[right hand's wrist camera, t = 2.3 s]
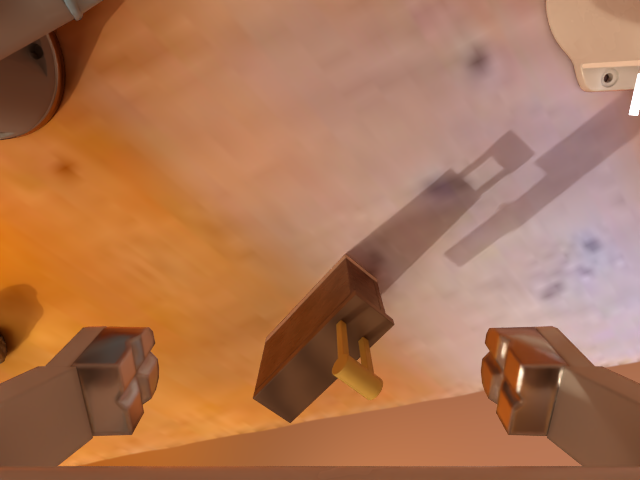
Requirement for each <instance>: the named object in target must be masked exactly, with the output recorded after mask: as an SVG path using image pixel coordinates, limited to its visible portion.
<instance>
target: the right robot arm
mask: <svg viewBox="0 0 640 480" xmlns="http://www.w3.org/2000/svg"><path fill="white" fill-rule="evenodd" d="M546 12H547V18H548V23H549V26H550V29H551V31H552V34H553V36H554V38H555V40H556V41H557V43H558V44H559V46H560V47H561V48H562V50H563V51H564V52H565V53H566V54H567V55H568V57H569V58H570V59H571V61H572V63H573V65H574V70H575V74H576V78H577V81H578V84H579V86H580V87H581V89H582V90H584V91H586V92H602V91H620V90H634V94H633V98H632V103H631V107H630V112H629V115H638V112H639V108H640V0H546ZM606 74H608V80H607V81H606V82H605V81H604V77H605V75H606ZM154 344H155V340H154V335H153V331H152V330H151V329H150V328H149V327H106V326H95V327H85V328H82V329H81V330H80V332H79V333H78V334H77V335H76V336H75V337H74V338H73V339H72V340H71V341H70V342H69V343H68V344H67V345H66V346H65V347H64V348H63V349H62V350H61V351H60V352H59V353H58V354H57V355H56V356H55V357H54V358H53V359H52V360H51V361H50V362H49V363H48V364H47V365H46V366H43V367H36V368H34V369H31V370H29V371H27V372H25V373H23V374H20V375H18V376H16V377H14V378H12V379H9V380H7V381H5V382H3V383H1V384H0V480H640V384H639V383H637V382H635V381H633V380H630V379H628V378H626V377H624V376H622V375H620V374H617V373H615V372H613V371H611V370H609V369H606V368H604V367H597V366H594V365H593V364H592V363H591V362H590V361H589V360H588V359H587V358H586V357H585V356H584V355H583V354H582V353H581V352H580V351H579V350H578V349H577V348H576V347H575V346H574V345H573V344H572V343H571V342H570V341H569V339H568V338H567V337H566V336H565V335H564V334H563V333H562V332H561V331H560V330H559V329H558V328H555V327H553V326H543V327H512V328H489V330H488V332H487V334H486V340H485V344H486V346H487V347H488V349H489V351H490V352H489V353H488V354H487V355H486V356H485V357H484V358H483V359H482V366H481V377H482V384H483V387H484V390H485V392H486V394H487V396H488V398H489V399H490V400H491V401H493V402H495V403H496V404H497V411H496V413H497V415H498V417H499V419H500V421H501V422H502V424H503V426H504V428H505V430H506V432H507V433H508V435H532V436H547V438H548V439H549V440H551V441H552V442H553V443H554V444H556V445H557V446H558V447H559V448H561V449H562V450H563V451H564V452H566V453H567V454H568V455H569V456H571V457H572V458H573V459H574V460H576V461H577V462H578V463H580V464H581V465H582V466H58V465H59V464H61V463H62V462H63V461H64V460H66V459H67V458H68V457H69V456H71V455H72V454H73V453H74V452H76V451H77V450H78V449H79V448H81V447H82V446H83V445H85V444H86V443H87V442H88V441H90V440H91V439H92V438H93V436H108V435H132V433H133V432H134V430H135V428H136V426H137V424H138V422H139V421H140V419H141V417H142V415H143V413H144V410H143V404H144V403H146V402H147V401H149V400H150V399H151V398H152V396H153V394H154V392H155V390H156V387H157V383H158V379H159V365H158V359H157V358H156V357H155V356H154V355H153V354H152V353H151V352H150V351H151V349H152V347H153V346H154Z"/></svg>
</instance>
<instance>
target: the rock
mask: <svg viewBox="0 0 640 480" xmlns="http://www.w3.org/2000/svg"><path fill="white" fill-rule="evenodd" d="M6 348H7V347H6V342H5V340H4V338H3V337H2V336H1V335H0V363H2V362H3V361H4V360H5V358H6V355H7V349H6Z"/></svg>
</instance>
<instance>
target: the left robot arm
mask: <svg viewBox="0 0 640 480" xmlns="http://www.w3.org/2000/svg"><path fill="white" fill-rule="evenodd" d="M101 1H103V0H0V140H4V139H11V138H17V137H21V136H25V135H28V134H31V133H33V132H35V131H37V130H38V129H40V128H41V127H43V126H44V125H45V124H46V123H47V122H48V121H49V120H50V119H51V118H52V117H53V115H54V114H55V112H56V110H57V109H58V107H59V104H60V102H61V99H62V96H63V92H64V86H65V67H64V60H63V55H62V51H61V48H60V45H59V42H58V40H57V37H56V35H55V33H54V30H55V29H57V28H59V27H61V26H63V25H64V24H66V23H68V22H70V21H71V20H73V19H75V20H76V21H78V20H80V19H82V17H83V13H85V12H86V11H88V10H89V9H91V8H92V7H94V6H95V5H97V4H98V3H100V2H101Z"/></svg>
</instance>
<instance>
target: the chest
mask: <svg viewBox="0 0 640 480" xmlns="http://www.w3.org/2000/svg"><path fill="white" fill-rule="evenodd" d="M354 290H356V291H357V292H359V293H360V294H361V295H362V296H364V297H365V298H366V299H368V300H369V301H370V302H371V303H373V304H374V305H375V306H376V307H378V308H379V309H380V310H382V311H383V312H384V313H385V310H384V306H383V302H382V299H381V295H380V291H379V288H378V284H377V279H376V278H375V277H374V276H372V275H371V274H370V273H369V272H367V271H366V270H365V269H364V268H362V267H361V266H360V265H359V264H357V263H356V262H355V261H354V260H352V259H351V258H350V257H349V256H347V255H346V254H345V255H344V256H343V257H342V258H341V259H340V260H339V261H338V262H337V263H336V264H335V266H334V267H333V268H332V269H331V270H330V271H329V272H328V273H327V274H326V275H325V276H324V277H323V278H322V279H321V280H320V281H319V282H318V284H317V285H316V286H315V287H314V288H313V289H312V290H311V291H310V292H309V293H308V294H307V295H306V296H305V297H304V298H303V299H302V300H301V302H300V303H299V304H298V305H297V306H296V307H295V308H294V309H293V310H292V311H291V312H290V313H289V314H288V315H287V316H286V317H285V318H284V320H283V321H282V322H281V323H280V324H279V325H278V326H277V327H276V328H275V329H274V330H273V331H272V332H271V333H270V334H269V335H268V336H267V338H266V341H265V347H264V351H263V356H262V360H261V365H260V369H259V374H258V378H257V383H256V387H255V391H256V390H257V389H258V388H259V387H260V386H261V385H262V384H263V383H264V382H265V381H266V380H267V379H268V378H269V377H270V376H271V375H272V374H273V373H274V372H275V371H276V370H277V369H278V368H279V367H280V366H281V365H282V364H283V363H284V361H285V360H286V359H287V358H288V357H289V356H290V355H291V354H292V353H293V352H294V351H295V350H296V349H297V348H298V347H299V346H300V345H301V344H302V343H303V342H304V341H305V340H306V339H307V338H308V337H309V336H310V335H311V334H312V333H313V332H314V331H315V330H316V329H317V328H318V327H319V326H320V325H321V324H322V323H323V322H324V321H325V320H326V319H327V318H328V317H329V316H330V315H331V314H332V313H333V312H334V311H335V310H336V309H337V308H338V307H339V306H340V305H341V304H342V303H343V302H344V301H345V300H346V299H347V298H348V297H349V296H350V295H351V293H352V292H353V291H354ZM385 314H386V313H385Z"/></svg>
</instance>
